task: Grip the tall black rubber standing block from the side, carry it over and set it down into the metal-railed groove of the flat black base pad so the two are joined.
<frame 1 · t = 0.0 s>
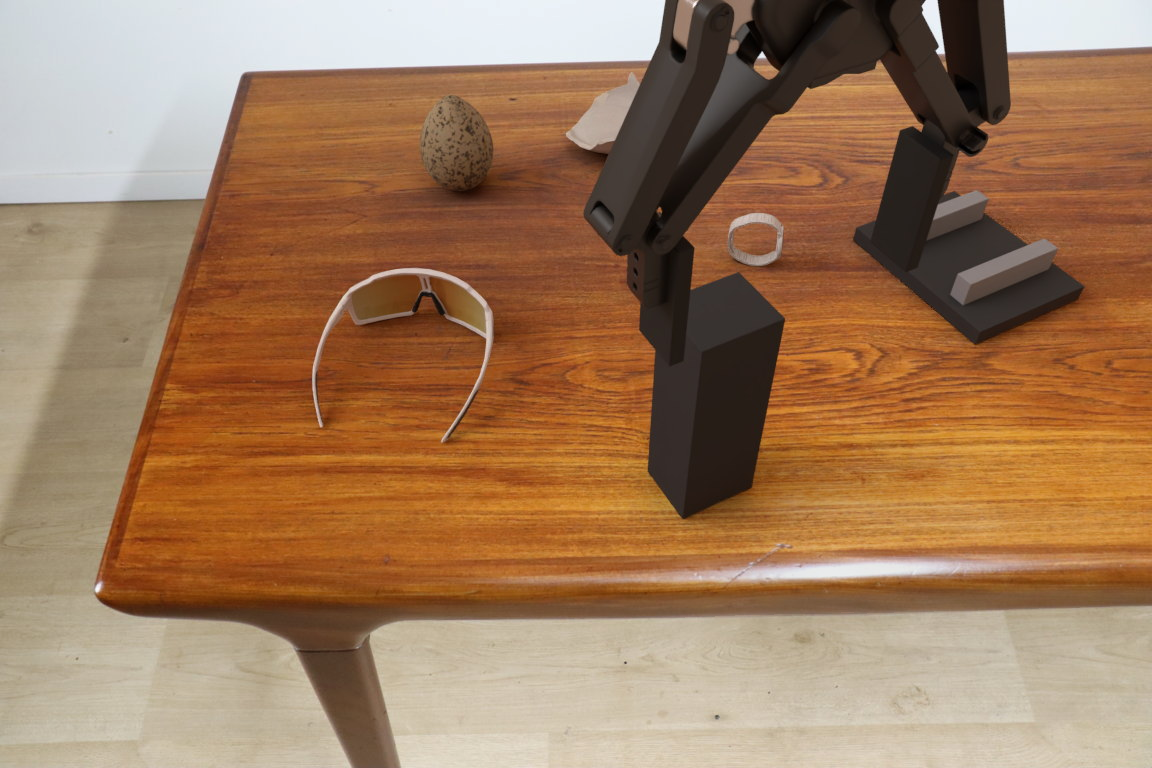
hand: (782, 298, 46), 26 cm above the table, tool pointing down, fingers open, 13 cm apart
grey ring: (752, 262, 88), on the table
decorative egg: (461, 186, 96), on the table
base pad: (961, 268, 86), on the table
pottery shard: (612, 146, 101), on the table
sunglasses: (409, 371, 79), on the table
standing block: (699, 479, 70), on the table
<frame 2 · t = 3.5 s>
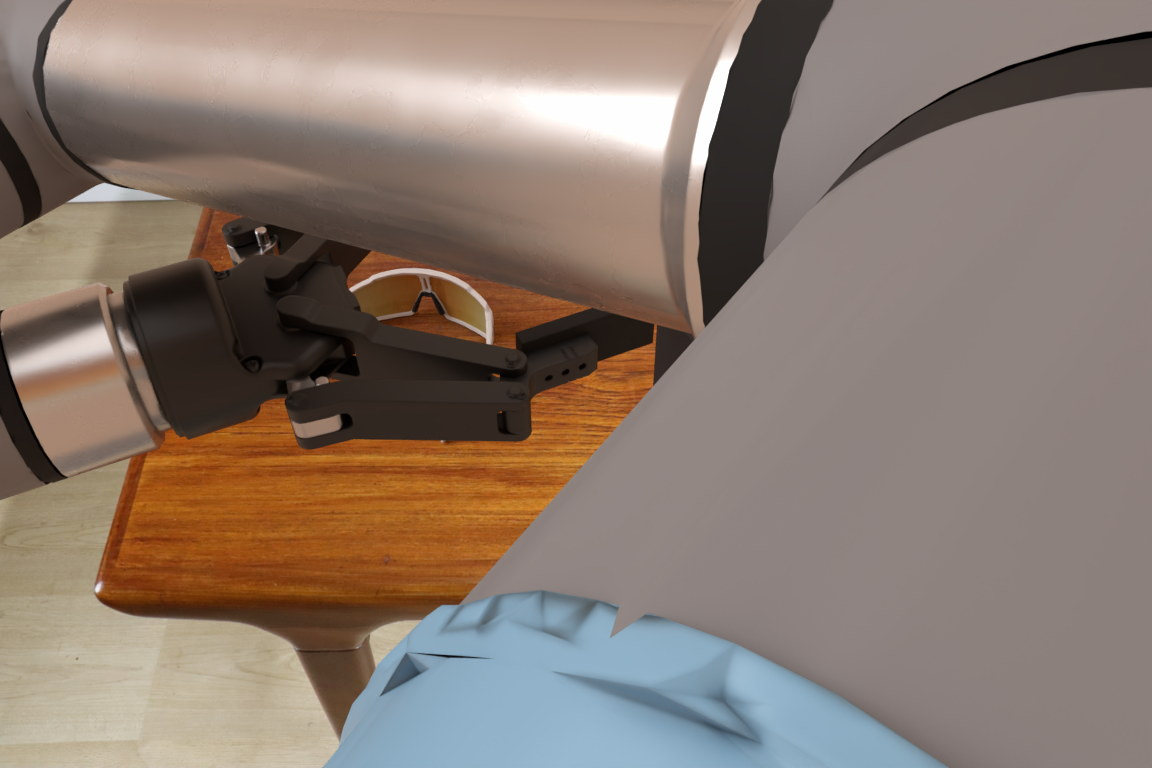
hand: (586, 232, 47), 27 cm above the table, tool horizontal, fingers open, 13 cm apart
nothing on the table moved.
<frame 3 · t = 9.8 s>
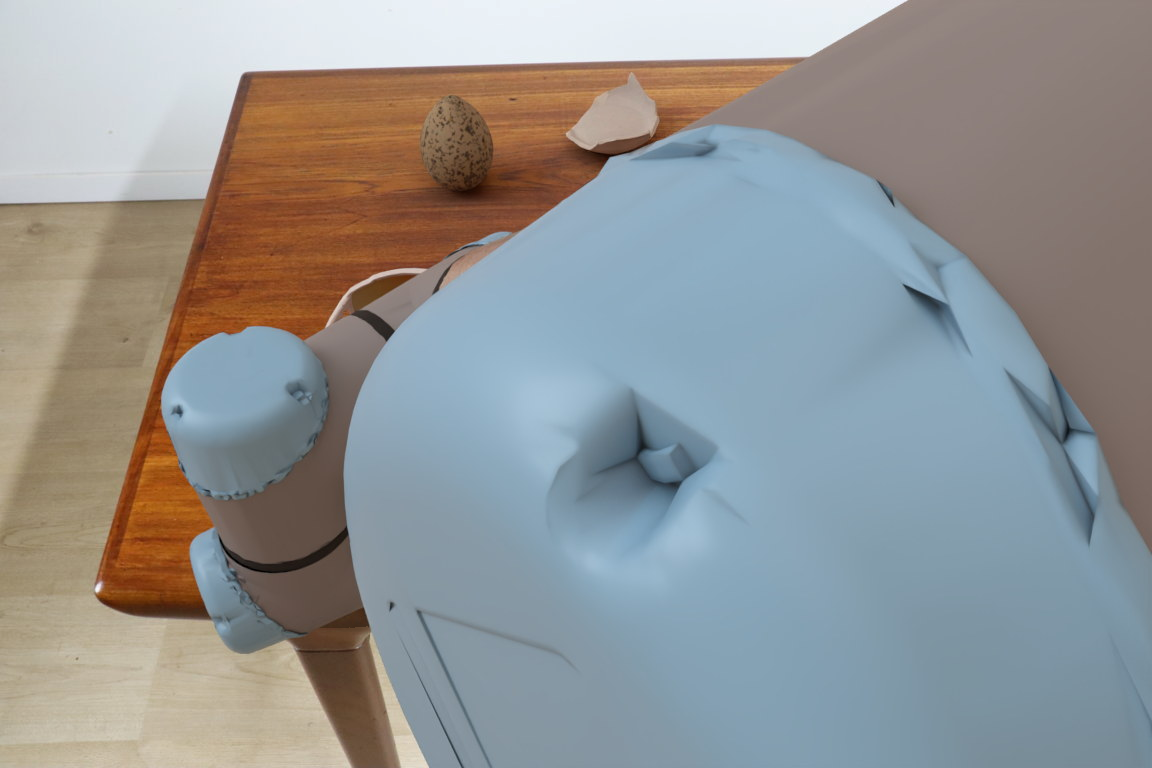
hand: (774, 366, 65), 10 cm above the table, tool horizontal, fingers closed on standing block, 5 cm apart
standing block: (699, 479, 70), on the table, touching gripper
everything else where it was.
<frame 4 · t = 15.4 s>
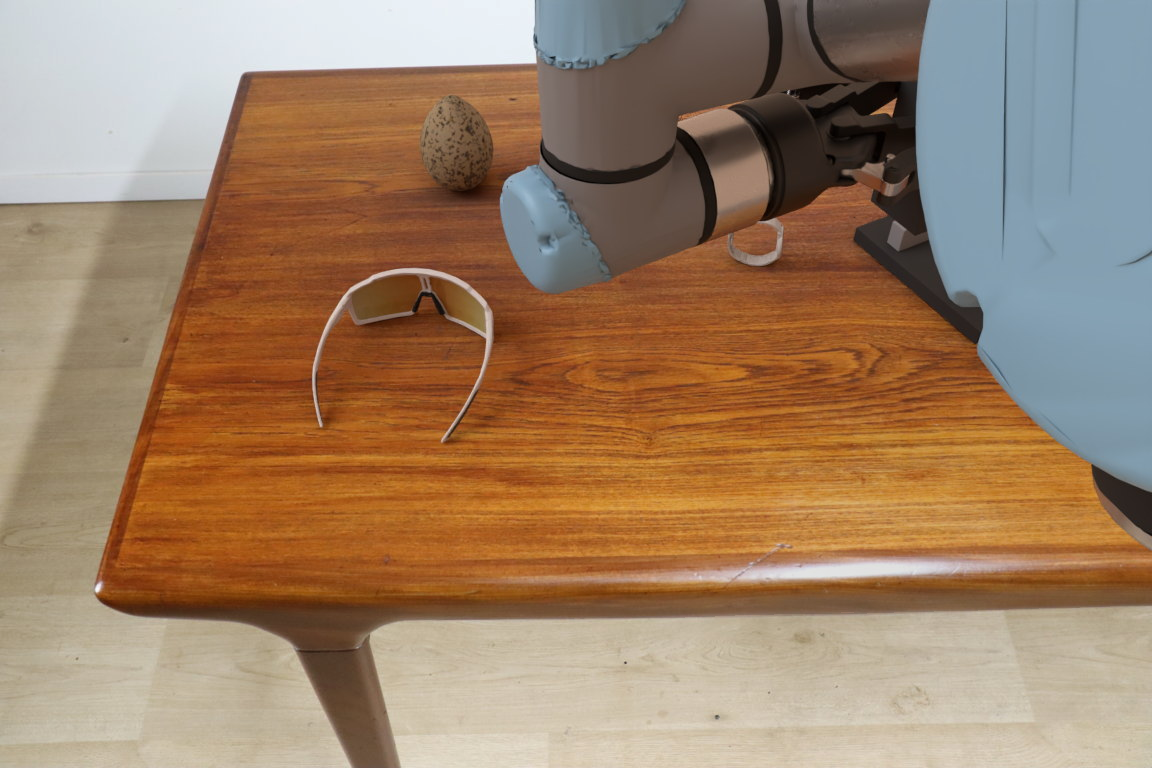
hand: (1014, 74, 67), 22 cm above the table, tool horizontal, fingers closed on standing block, 5 cm apart
standing block: (922, 206, 72), point 13 cm above the table, touching gripper
everything else where it was.
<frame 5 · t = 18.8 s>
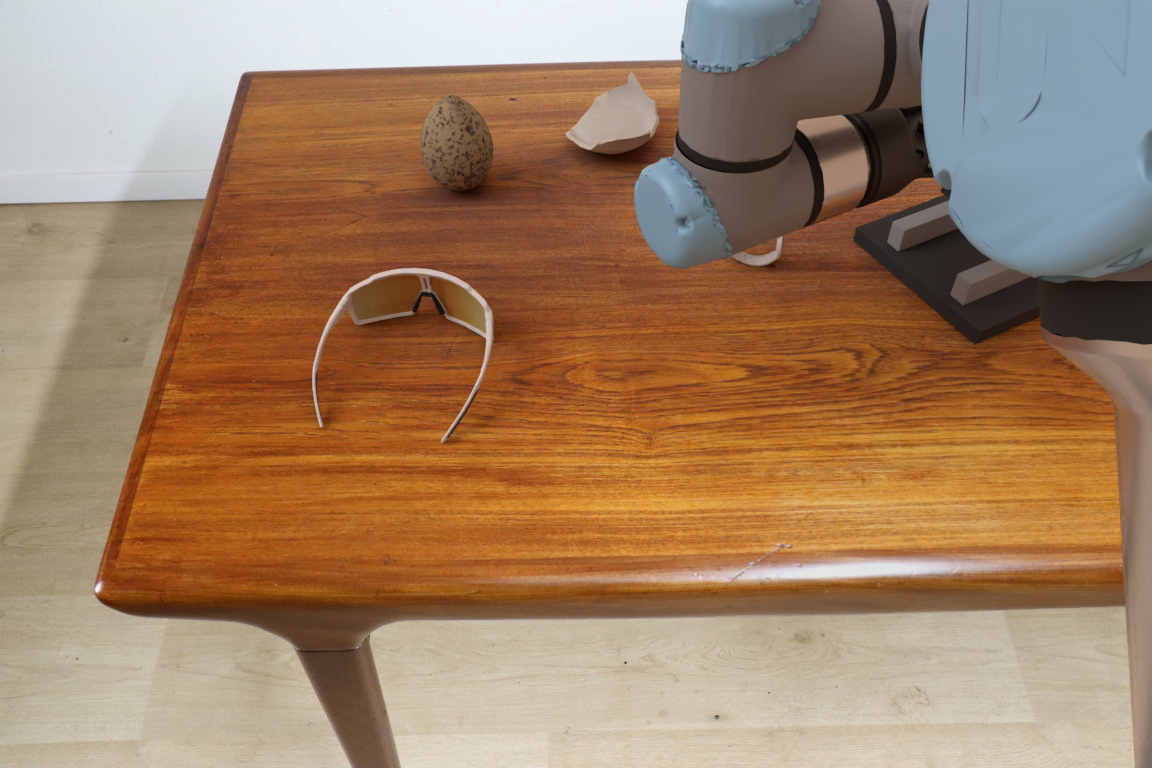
hand: (1073, 79, 75), 17 cm above the table, tool horizontal, fingers closed on standing block, 5 cm apart
standing block: (987, 197, 80), point 8 cm above the table, touching gripper
everything else where it was.
when the fingers open (11 cm above the table, at t = 21.3 s): standing block stays where it is, resting on base pad.
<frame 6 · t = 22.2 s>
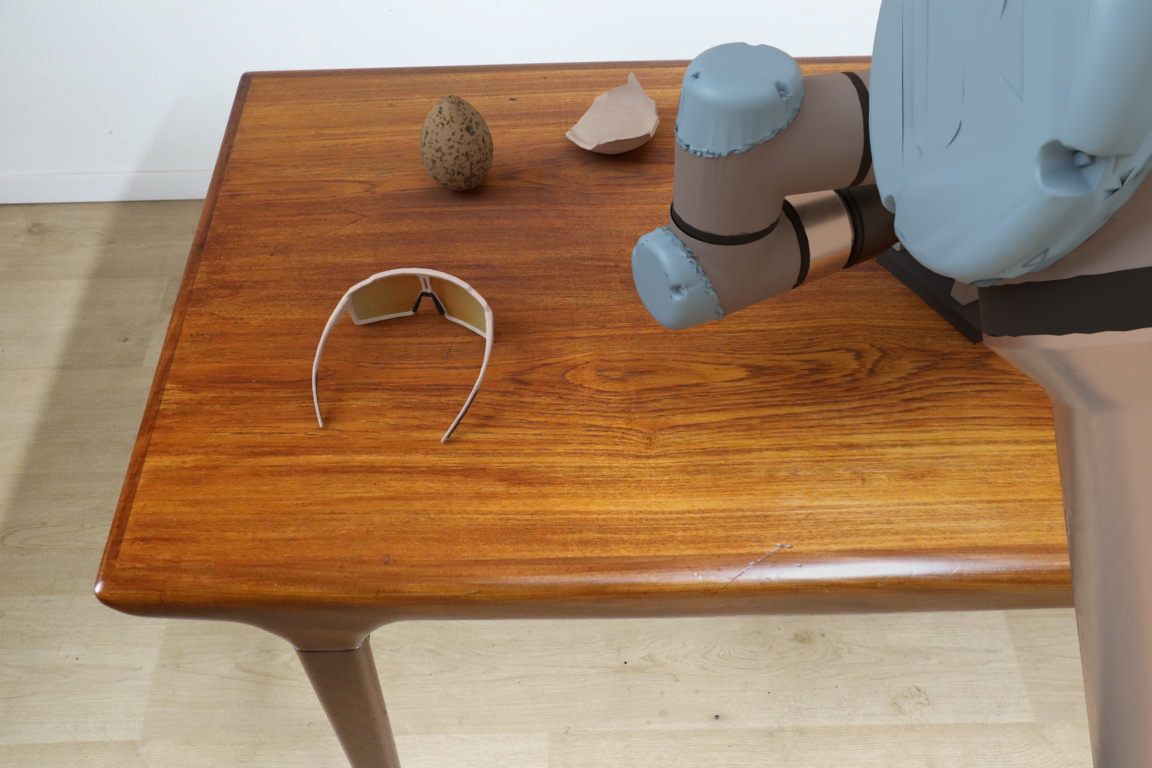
hand: (1031, 148, 79), 12 cm above the table, tool horizontal, fingers open, 13 cm apart
standing block: (966, 255, 85), point 1 cm above the table, touching base pad
everything else where it was.
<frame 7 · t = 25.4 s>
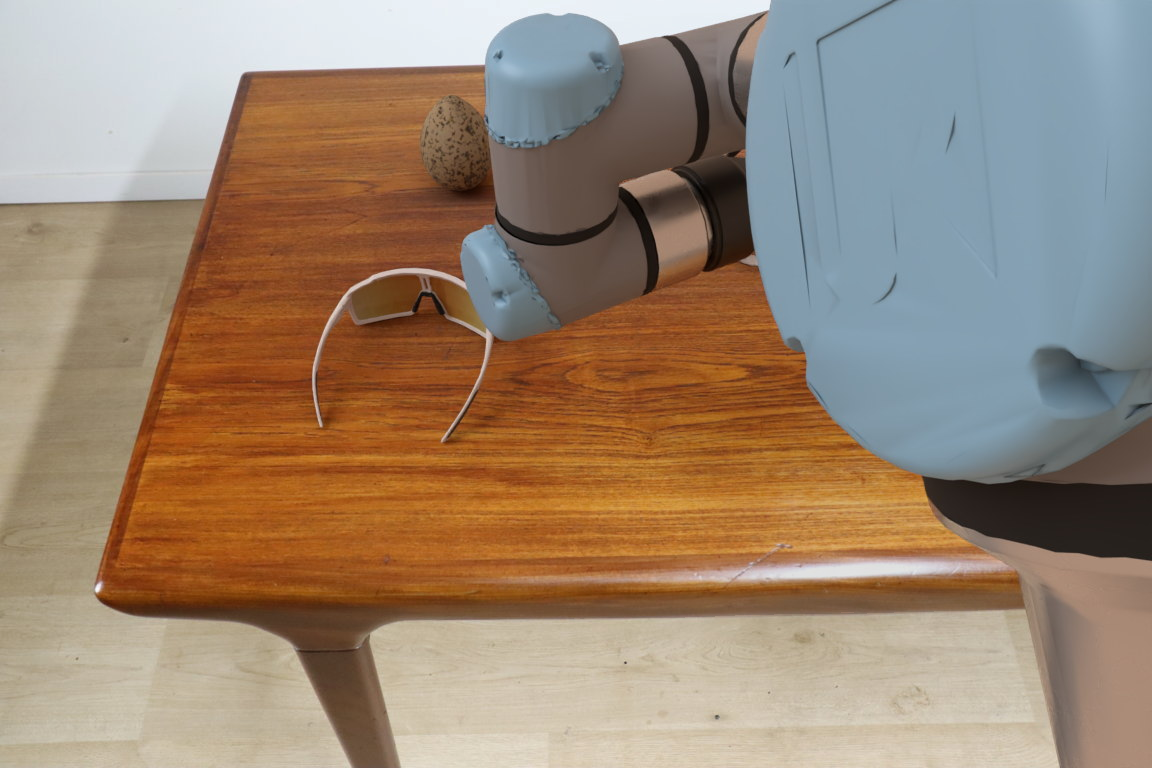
hand: (926, 138, 71), 17 cm above the table, tool horizontal, fingers open, 13 cm apart
nothing on the table moved.
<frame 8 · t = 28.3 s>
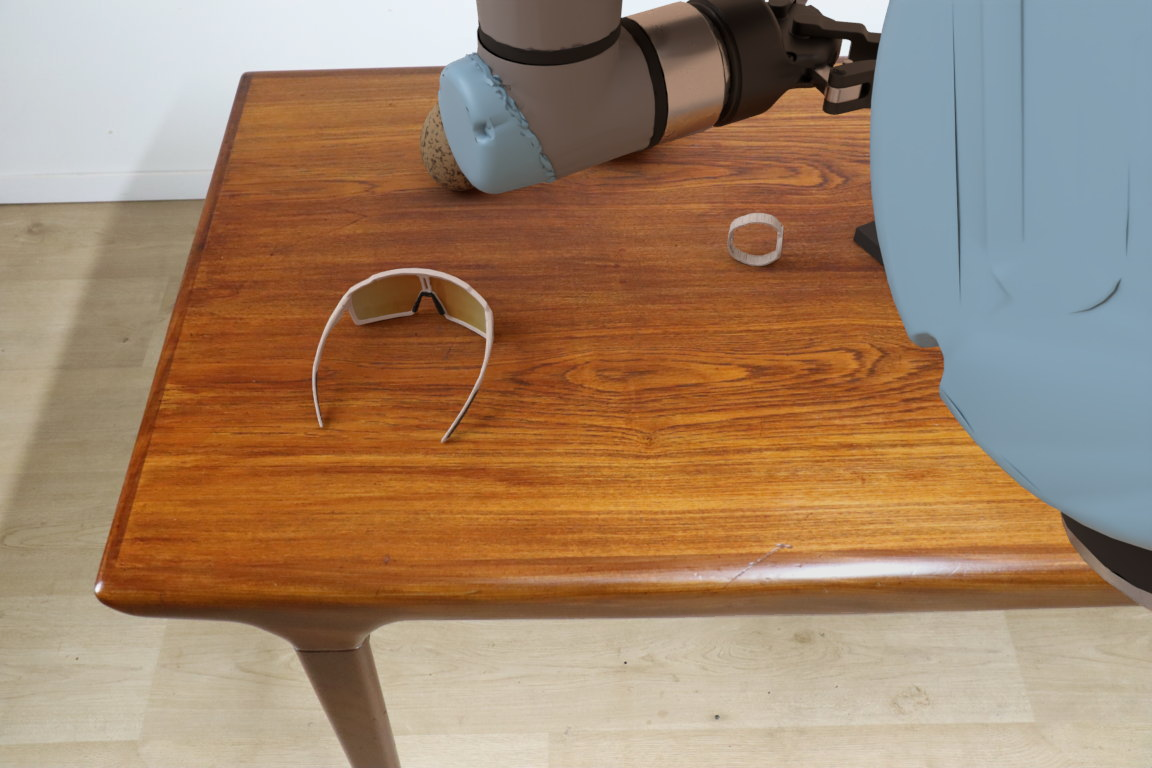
nothing on the table moved.
at the end: standing block 0.0 cm off-centre on the base pad, point 1.5 cm above the base pad's base; standing block tilted 0°; the gripper is holding nothing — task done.
